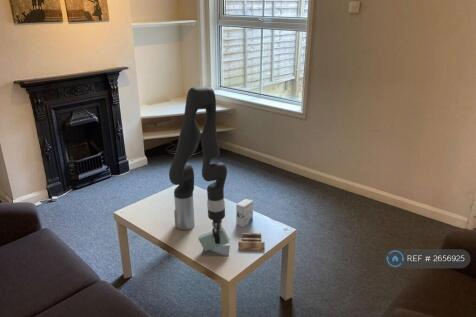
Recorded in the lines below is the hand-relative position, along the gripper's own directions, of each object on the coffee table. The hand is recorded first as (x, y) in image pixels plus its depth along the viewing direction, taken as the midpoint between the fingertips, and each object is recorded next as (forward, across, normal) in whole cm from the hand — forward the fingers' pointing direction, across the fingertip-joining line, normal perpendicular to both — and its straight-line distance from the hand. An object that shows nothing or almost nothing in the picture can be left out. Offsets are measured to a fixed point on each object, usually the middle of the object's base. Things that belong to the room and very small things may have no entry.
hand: (217, 241), depth 171 cm
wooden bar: (+5, -2, +15) cm, 16 cm away
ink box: (+5, -26, +11) cm, 29 cm away
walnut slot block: (+5, -9, +15) cm, 18 cm away
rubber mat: (+5, 0, -1) cm, 5 cm away
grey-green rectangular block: (+1, 0, -7) cm, 7 cm away
